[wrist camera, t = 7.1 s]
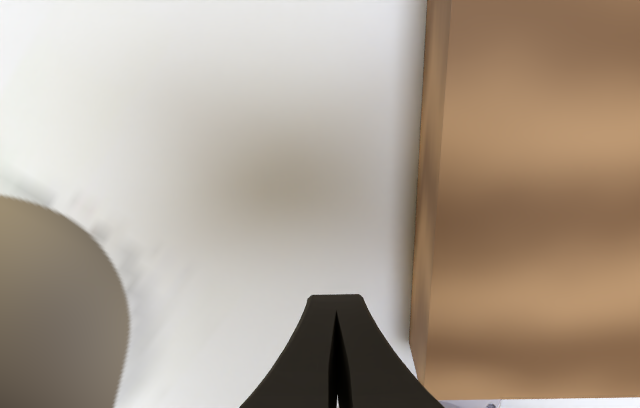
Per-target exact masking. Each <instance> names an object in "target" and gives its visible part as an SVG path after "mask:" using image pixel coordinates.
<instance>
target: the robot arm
mask: <svg viewBox="0 0 640 408" xmlns="http://www.w3.org/2000/svg"><path fill="white" fill-rule="evenodd" d="M337 395H338V403H339V408H500V402H501V399H492V400H436V399H435V398H434V397H433V396H432V395H431V394H430V393H429V392H428V391H427V389H426V388H425V387H424V386H423V385H422V384H421V383H420V382H419V381H418V380H417V379H416V378H415V376H414V375H413V374H412V373H411V372H410V371H409V369H408V368H407V367H406V366H405V364H404V363H403V362H402V361H401V359H400V358H399V357H398V356H397V354H396V353H395V351H394V350H393V349H392V347H391V346H390V344H389V343H388V341H387V340H386V338H385V337H384V336H383V334H382V333H381V331H380V329H379V328H378V326H377V325H376V323H375V321H374V319H373V318H372V316H371V314H370V312H369V310H368V308H367V306H366V304H365V301H364V299H363V297H362V296H361V295H359V294H342V295H311V296H310V297H309V298H308V300H307V303H306V306H305V309H304V312H303V314H302V316H301V319H300V321H299V323H298V325H297V327H296V329H295V331H294V332H293V334H292V336H291V338H290V340H289V342H288V343H287V345H286V347H285V348H284V350H283V352H282V353H281V355H280V356H279V358H278V359H277V361H276V362H275V364H274V365H273V367H272V368H271V370H270V371H269V372H268V374H267V375H266V376H265V378H264V379H263V380H262V382H261V383H260V384H259V385H258V387H257V388H256V389H255V390H254V392H253V393H252V394H251V395H250V396H249V397H248V398H247V400H246V401H245V402H244V403H243V404H242V405H241V406H240V407H239V408H336V406H337ZM489 404H491V405H489ZM487 405H489V406H487Z"/></svg>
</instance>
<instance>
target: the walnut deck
mask: <svg viewBox="0 0 640 408" xmlns="http://www.w3.org/2000/svg"><path fill="white" fill-rule="evenodd" d="M409 344H410V348H411V353H412V357H413V361H414V365H415V369H416V373H417V377H418V381H419V382H420V383H421V384H422V385H423V386H424V387H425V388H426V389H427V391H428V392H429V393H430V394H431V395H432V396H433V397H434V398H435V399H436V400H492V399H557V398H621V397H640V0H427V17H426V35H425V54H424V73H423V91H422V110H421V129H420V147H419V166H418V185H417V203H416V222H415V241H414V259H413V278H412V297H411V315H410V334H409Z"/></svg>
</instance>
